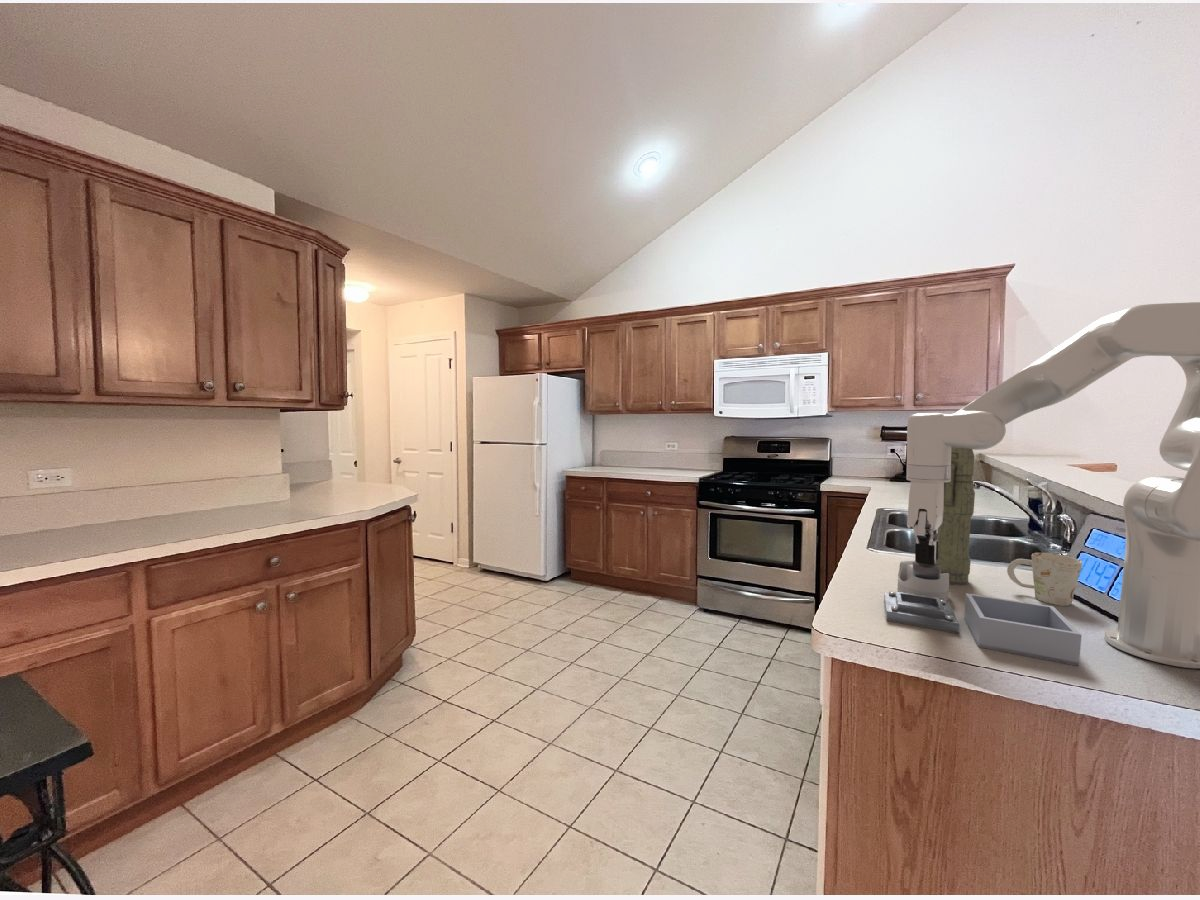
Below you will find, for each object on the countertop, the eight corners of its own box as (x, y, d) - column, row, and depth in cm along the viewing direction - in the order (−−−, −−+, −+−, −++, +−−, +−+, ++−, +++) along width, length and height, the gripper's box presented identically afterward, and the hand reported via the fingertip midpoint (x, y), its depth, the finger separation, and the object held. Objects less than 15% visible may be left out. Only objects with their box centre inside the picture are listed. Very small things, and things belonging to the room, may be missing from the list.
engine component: (907, 599, 110) (957, 603, 108) (912, 511, 108) (963, 513, 106) (889, 583, 120) (933, 586, 118) (893, 502, 119) (939, 504, 117)
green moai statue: (924, 581, 122) (932, 443, 119) (929, 569, 131) (937, 441, 129) (968, 589, 117) (978, 445, 114) (969, 576, 126) (979, 443, 123)
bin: (1050, 633, 93) (1053, 606, 93) (1078, 666, 81) (1081, 634, 81) (964, 619, 100) (965, 593, 99) (978, 646, 88) (980, 617, 87)
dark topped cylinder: (915, 570, 103) (916, 529, 103) (942, 575, 100) (943, 532, 99) (910, 576, 100) (910, 533, 99) (937, 581, 97) (938, 537, 96)
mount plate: (948, 611, 103) (949, 596, 103) (958, 633, 93) (959, 617, 93) (884, 600, 109) (884, 586, 109) (886, 620, 99) (887, 605, 98)
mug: (1076, 611, 104) (1080, 566, 103) (1001, 594, 114) (1005, 553, 113) (1080, 601, 110) (1083, 558, 109) (1008, 586, 119) (1011, 546, 118)
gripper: (915, 468, 107) (913, 549, 108) (897, 476, 95) (896, 567, 96) (956, 470, 102) (954, 555, 103) (943, 478, 90) (941, 575, 91)
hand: (926, 560), depth 100 cm, fingers closed on dark topped cylinder, 3 cm apart
